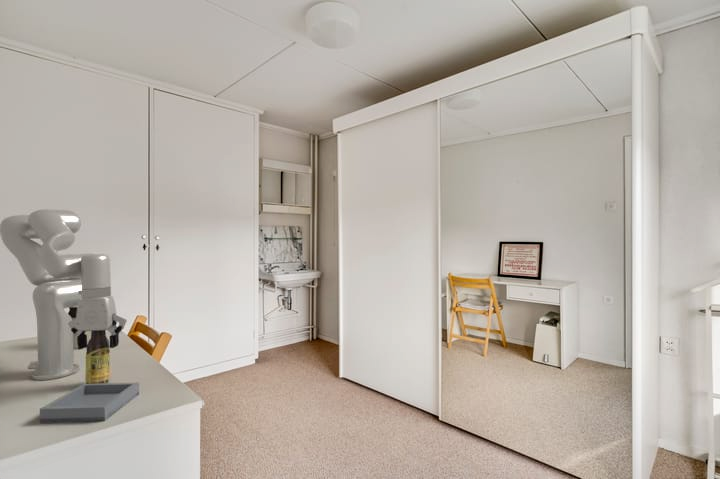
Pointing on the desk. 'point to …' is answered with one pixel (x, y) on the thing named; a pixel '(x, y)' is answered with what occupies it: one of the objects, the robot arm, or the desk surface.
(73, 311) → the travel mug
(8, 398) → the desk surface
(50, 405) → the tray
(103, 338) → the sauce bottle
